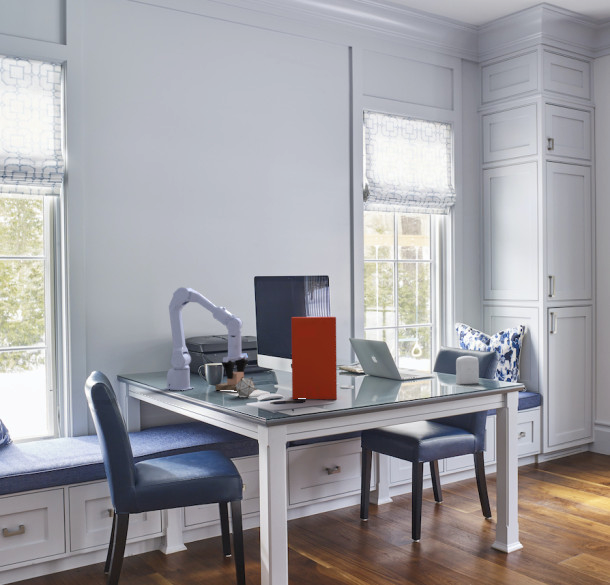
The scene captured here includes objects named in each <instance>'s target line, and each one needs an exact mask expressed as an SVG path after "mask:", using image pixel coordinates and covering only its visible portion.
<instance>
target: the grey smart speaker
mask: <svg viewBox="0 0 610 585" xmlns="http://www.w3.org/2000/svg"><path fill="white" fill-rule="evenodd" d="M479 364H480V363H479V357H477V356H473V355H461V356H459V357H457V358H456V360H455V373H456V374H455V375H456V376H455V378H456V385H469V384H470V385H473V384H480V383H479V382H480V376H479V375H480V369H479V368H480V365H479Z"/></svg>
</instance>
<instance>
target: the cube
mask: <svg viewBox="0 0 610 585" xmlns="http://www.w3.org/2000/svg"><path fill="white" fill-rule="evenodd" d="M242 377H243V378H245V372H237V371H234V370H233V377H232V379H227V378H226V379H227V380H226V383H227V384H228V385H236V384H237V383H238V382H239V381H240V380H241V378H242Z"/></svg>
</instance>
